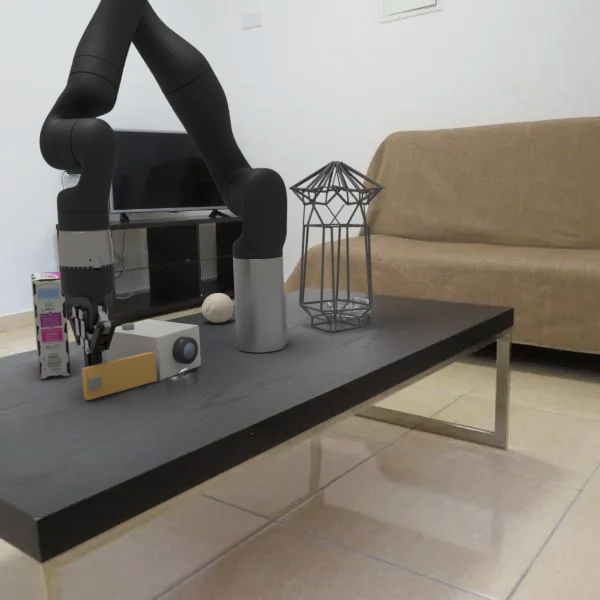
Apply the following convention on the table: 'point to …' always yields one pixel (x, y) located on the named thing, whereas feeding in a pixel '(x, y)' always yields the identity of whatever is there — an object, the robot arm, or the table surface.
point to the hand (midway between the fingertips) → (94, 376)
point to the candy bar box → (50, 325)
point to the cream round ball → (217, 308)
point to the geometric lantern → (324, 172)
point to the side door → (120, 374)
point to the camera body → (158, 344)
